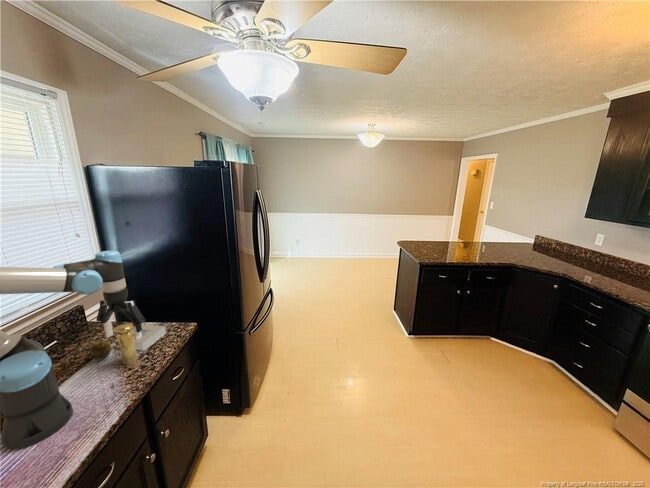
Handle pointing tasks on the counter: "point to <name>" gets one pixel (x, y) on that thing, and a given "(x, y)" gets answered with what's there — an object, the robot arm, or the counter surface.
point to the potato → (100, 349)
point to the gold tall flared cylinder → (126, 343)
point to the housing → (147, 336)
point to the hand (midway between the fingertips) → (124, 337)
